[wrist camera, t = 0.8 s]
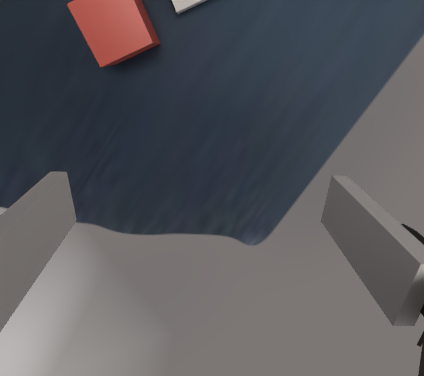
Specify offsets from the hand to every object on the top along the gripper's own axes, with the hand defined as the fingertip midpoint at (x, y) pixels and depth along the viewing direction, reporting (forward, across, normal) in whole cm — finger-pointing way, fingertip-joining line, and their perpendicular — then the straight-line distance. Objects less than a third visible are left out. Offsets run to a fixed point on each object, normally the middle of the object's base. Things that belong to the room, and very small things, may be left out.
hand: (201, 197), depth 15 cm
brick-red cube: (+25, -8, +8) cm, 28 cm away
